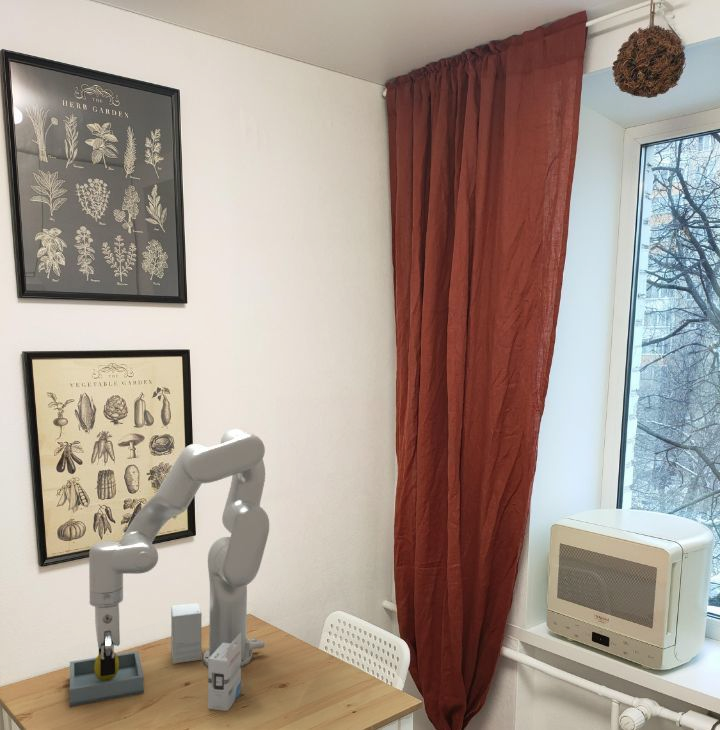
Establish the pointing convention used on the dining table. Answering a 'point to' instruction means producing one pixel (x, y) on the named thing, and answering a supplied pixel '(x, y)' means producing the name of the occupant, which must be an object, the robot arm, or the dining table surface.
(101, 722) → the dining table surface
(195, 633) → the supplement box
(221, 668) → the ink box
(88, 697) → the walled box
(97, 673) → the lemon
